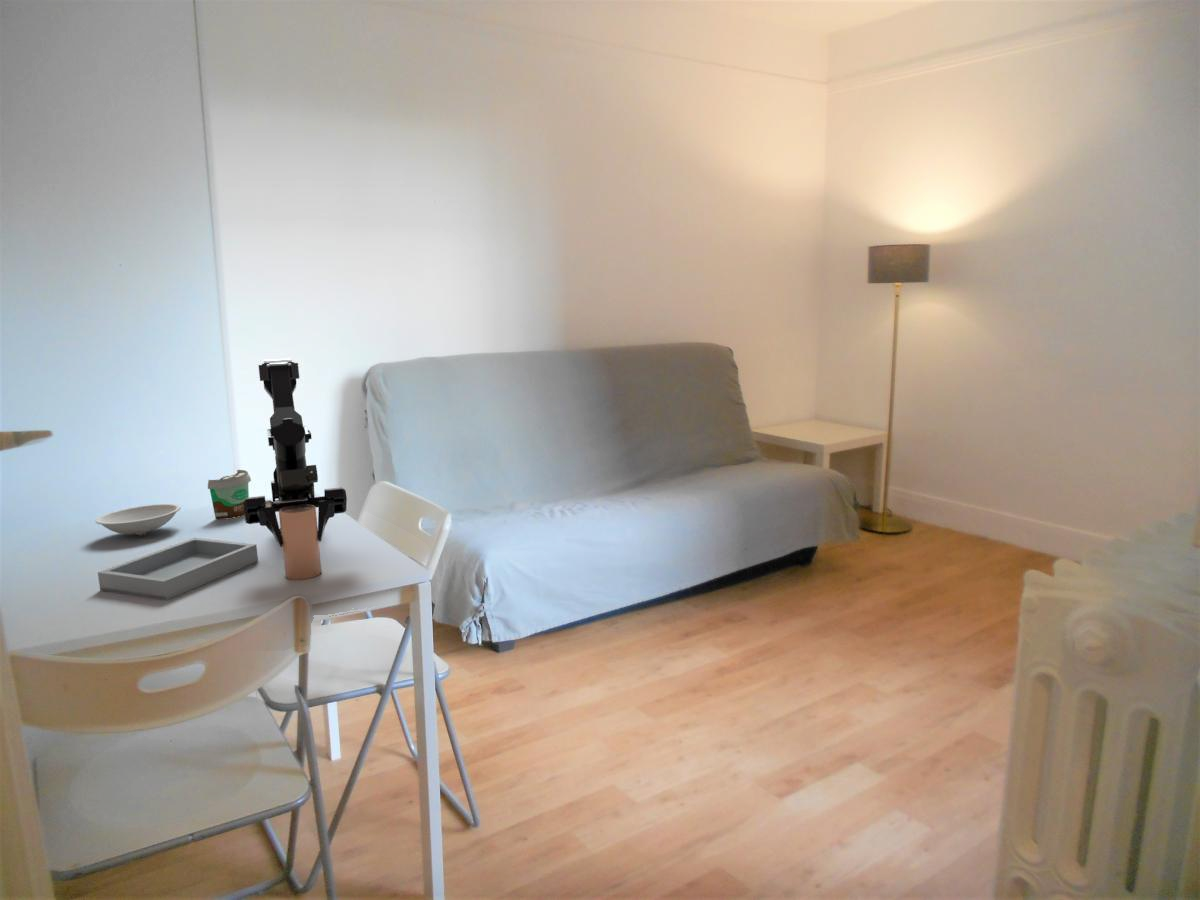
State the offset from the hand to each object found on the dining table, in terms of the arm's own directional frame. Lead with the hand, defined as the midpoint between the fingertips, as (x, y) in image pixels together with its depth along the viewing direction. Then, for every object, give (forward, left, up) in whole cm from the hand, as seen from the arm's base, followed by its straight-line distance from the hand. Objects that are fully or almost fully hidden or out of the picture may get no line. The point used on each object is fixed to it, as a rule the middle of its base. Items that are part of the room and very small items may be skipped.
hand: (300, 543), depth 159 cm
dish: (-29, -50, -7) cm, 58 cm away
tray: (-1, -25, -7) cm, 25 cm away
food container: (-45, -35, -7) cm, 57 cm away
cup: (-1, -1, -7) cm, 7 cm away
